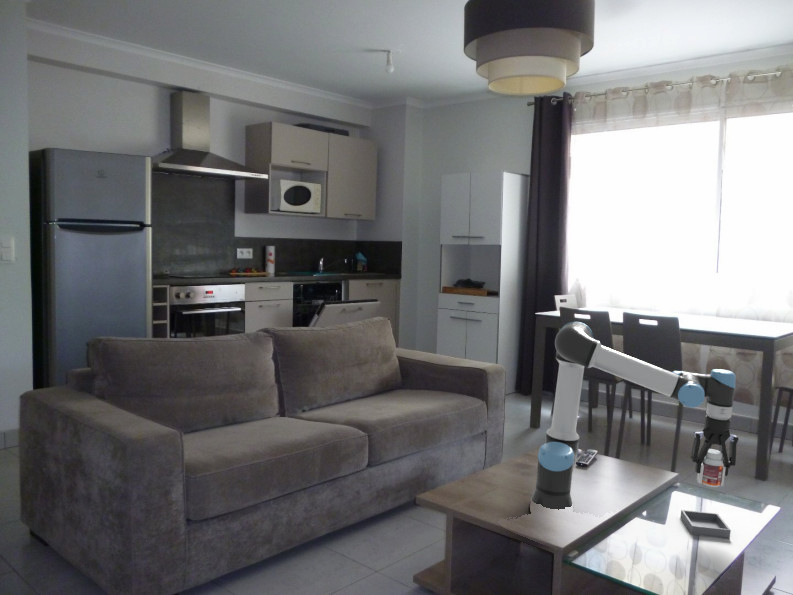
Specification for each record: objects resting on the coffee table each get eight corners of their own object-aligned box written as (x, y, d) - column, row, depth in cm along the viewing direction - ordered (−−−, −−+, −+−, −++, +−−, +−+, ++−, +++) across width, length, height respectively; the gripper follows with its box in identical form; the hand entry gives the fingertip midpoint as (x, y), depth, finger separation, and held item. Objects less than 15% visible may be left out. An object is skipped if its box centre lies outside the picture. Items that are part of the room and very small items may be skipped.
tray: (691, 534, 216) (692, 526, 216) (680, 517, 228) (681, 509, 227) (729, 538, 215) (730, 530, 214) (716, 521, 226) (717, 513, 226)
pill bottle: (721, 489, 215) (725, 456, 214) (701, 485, 217) (705, 453, 216) (718, 482, 221) (722, 450, 220) (698, 478, 223) (702, 446, 221)
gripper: (691, 417, 213) (683, 484, 216) (753, 422, 211) (744, 491, 214) (684, 410, 221) (676, 475, 224) (744, 415, 219) (735, 481, 222)
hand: (709, 483), depth 219 cm, fingers closed on pill bottle, 6 cm apart
